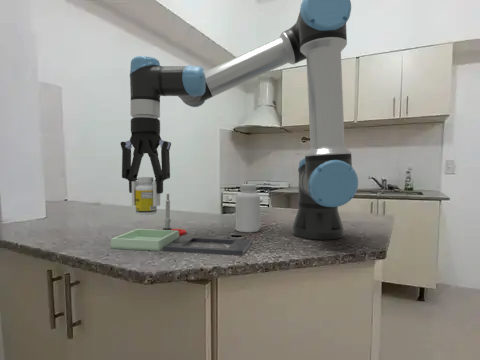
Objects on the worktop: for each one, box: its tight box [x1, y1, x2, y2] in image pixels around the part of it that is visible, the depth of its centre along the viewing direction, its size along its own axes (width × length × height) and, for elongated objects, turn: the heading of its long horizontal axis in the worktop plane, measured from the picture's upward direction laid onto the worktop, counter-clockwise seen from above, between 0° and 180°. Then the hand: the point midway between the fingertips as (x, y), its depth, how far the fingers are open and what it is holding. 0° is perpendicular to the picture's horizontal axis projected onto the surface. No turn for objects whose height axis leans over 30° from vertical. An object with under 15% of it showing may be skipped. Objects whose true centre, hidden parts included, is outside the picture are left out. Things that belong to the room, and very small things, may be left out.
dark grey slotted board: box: [162, 235, 252, 256], centre depth 83 cm, size 20×12×1 cm, turn 78°
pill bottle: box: [235, 183, 261, 233], centre depth 104 cm, size 8×8×15 cm
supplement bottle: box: [135, 176, 158, 216], centre depth 86 cm, size 5×5×10 cm
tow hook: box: [162, 193, 187, 236], centre depth 99 cm, size 8×13×9 cm
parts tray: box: [110, 228, 180, 252], centre depth 86 cm, size 13×13×2 cm
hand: (146, 205), depth 86 cm, fingers closed on supplement bottle, 5 cm apart
